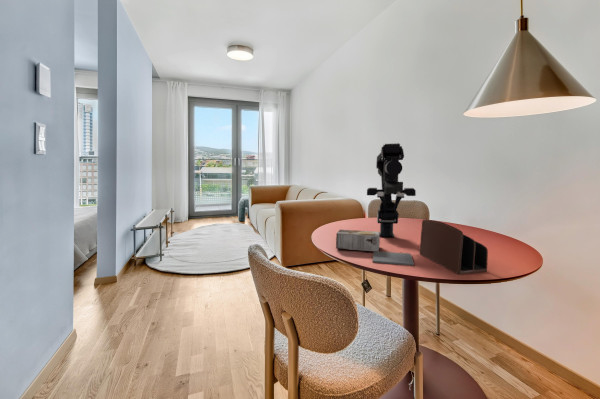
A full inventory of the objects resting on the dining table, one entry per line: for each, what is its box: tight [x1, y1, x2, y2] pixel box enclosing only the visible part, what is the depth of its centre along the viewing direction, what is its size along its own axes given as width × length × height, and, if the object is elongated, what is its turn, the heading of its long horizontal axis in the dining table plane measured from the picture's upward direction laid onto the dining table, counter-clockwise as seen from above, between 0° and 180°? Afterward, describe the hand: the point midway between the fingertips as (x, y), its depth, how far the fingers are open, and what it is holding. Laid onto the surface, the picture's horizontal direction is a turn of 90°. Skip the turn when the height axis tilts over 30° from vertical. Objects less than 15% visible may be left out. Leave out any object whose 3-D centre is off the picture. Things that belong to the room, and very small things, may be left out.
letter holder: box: [419, 219, 489, 276], centre depth 93 cm, size 10×20×14 cm, turn 10°
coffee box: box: [335, 229, 381, 252], centre depth 111 cm, size 9×6×16 cm
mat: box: [372, 251, 415, 267], centre depth 99 cm, size 11×13×1 cm
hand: (390, 212), depth 117 cm, fingers open, 3 cm apart
